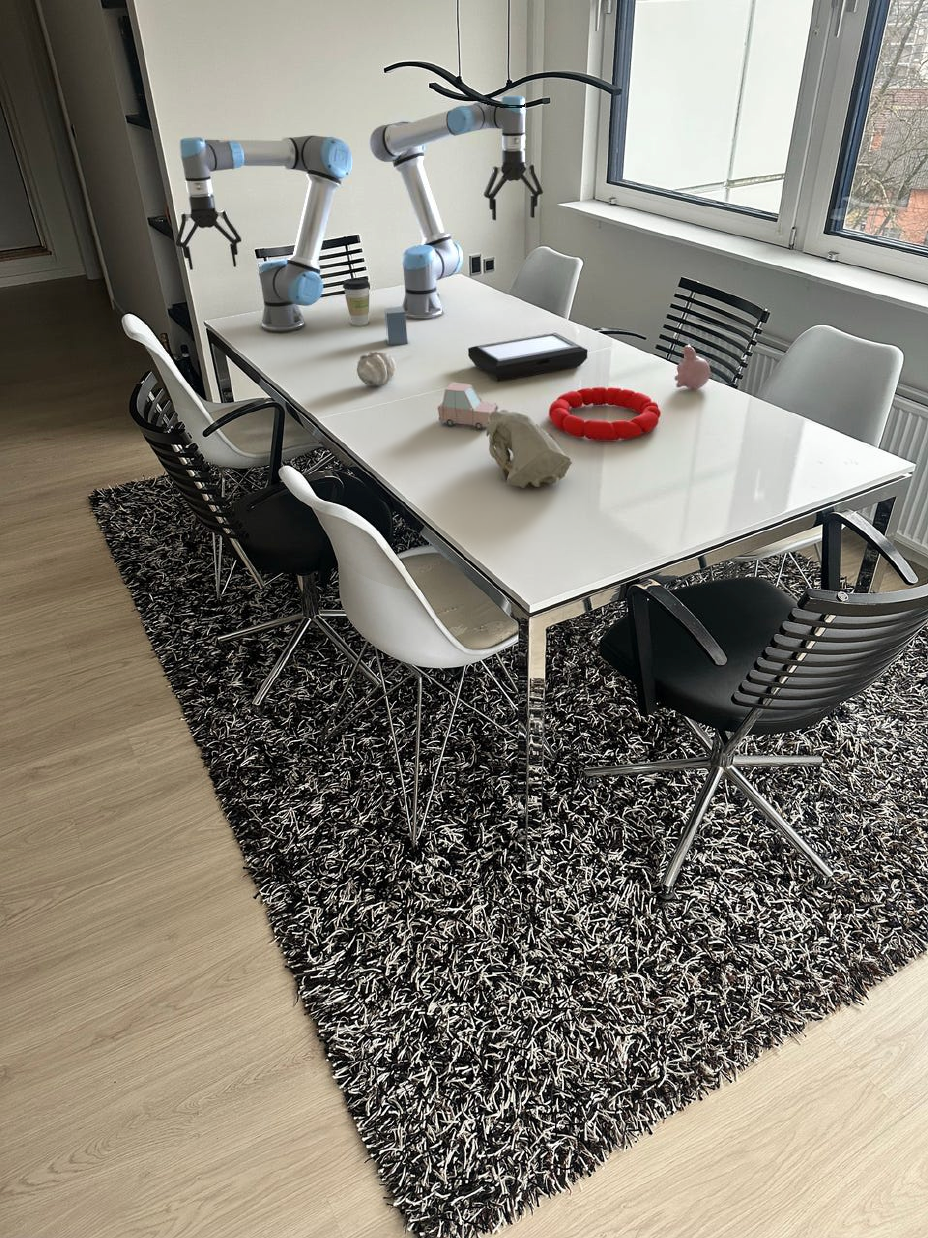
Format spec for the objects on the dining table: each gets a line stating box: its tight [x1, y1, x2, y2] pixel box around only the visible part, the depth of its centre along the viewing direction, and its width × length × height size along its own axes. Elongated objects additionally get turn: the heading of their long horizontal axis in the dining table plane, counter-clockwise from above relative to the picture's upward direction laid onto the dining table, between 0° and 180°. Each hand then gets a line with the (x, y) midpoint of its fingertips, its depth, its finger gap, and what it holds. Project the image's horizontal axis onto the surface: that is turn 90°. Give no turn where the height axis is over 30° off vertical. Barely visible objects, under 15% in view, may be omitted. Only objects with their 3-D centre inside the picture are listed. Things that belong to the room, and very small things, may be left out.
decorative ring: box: [548, 386, 661, 442], centre depth 242 cm, size 7×30×30 cm
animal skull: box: [485, 409, 573, 489], centre depth 216 cm, size 17×25×20 cm
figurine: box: [674, 344, 711, 390], centre depth 259 cm, size 9×11×12 cm
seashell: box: [356, 351, 396, 386], centre depth 270 cm, size 10×15×10 cm
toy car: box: [437, 382, 499, 431], centre depth 243 cm, size 9×15×10 cm, turn 70°
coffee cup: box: [342, 277, 371, 327], centre depth 323 cm, size 10×10×15 cm
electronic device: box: [467, 332, 588, 382], centre depth 281 cm, size 32×6×20 cm
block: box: [383, 306, 408, 346], centre depth 305 cm, size 7×6×11 cm
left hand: (213, 267), depth 286 cm, fingers open, 13 cm apart
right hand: (513, 218), depth 308 cm, fingers open, 13 cm apart
